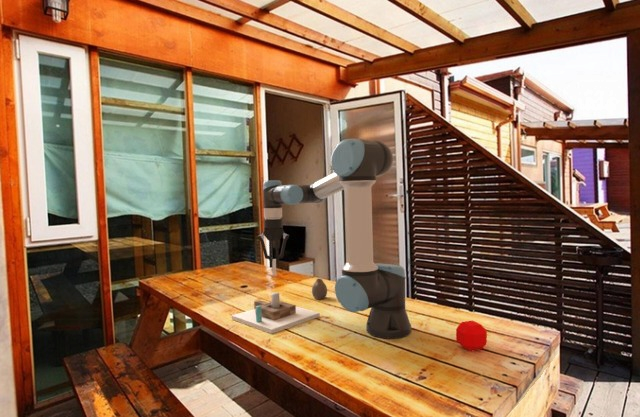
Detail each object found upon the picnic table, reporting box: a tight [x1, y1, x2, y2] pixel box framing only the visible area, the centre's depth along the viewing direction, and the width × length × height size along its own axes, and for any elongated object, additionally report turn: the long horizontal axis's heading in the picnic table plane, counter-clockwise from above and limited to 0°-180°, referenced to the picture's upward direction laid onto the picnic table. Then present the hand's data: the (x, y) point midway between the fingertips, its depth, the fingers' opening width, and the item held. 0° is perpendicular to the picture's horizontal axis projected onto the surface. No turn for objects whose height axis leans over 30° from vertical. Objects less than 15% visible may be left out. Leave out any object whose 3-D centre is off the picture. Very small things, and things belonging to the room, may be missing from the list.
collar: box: [253, 299, 297, 320], centre depth 155 cm, size 18×11×3 cm, turn 46°
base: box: [231, 292, 321, 334], centre depth 152 cm, size 24×24×10 cm
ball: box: [455, 320, 488, 352], centre depth 120 cm, size 8×8×8 cm
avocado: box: [311, 278, 328, 300], centre depth 179 cm, size 7×7×9 cm
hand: (274, 275), depth 162 cm, fingers closed
